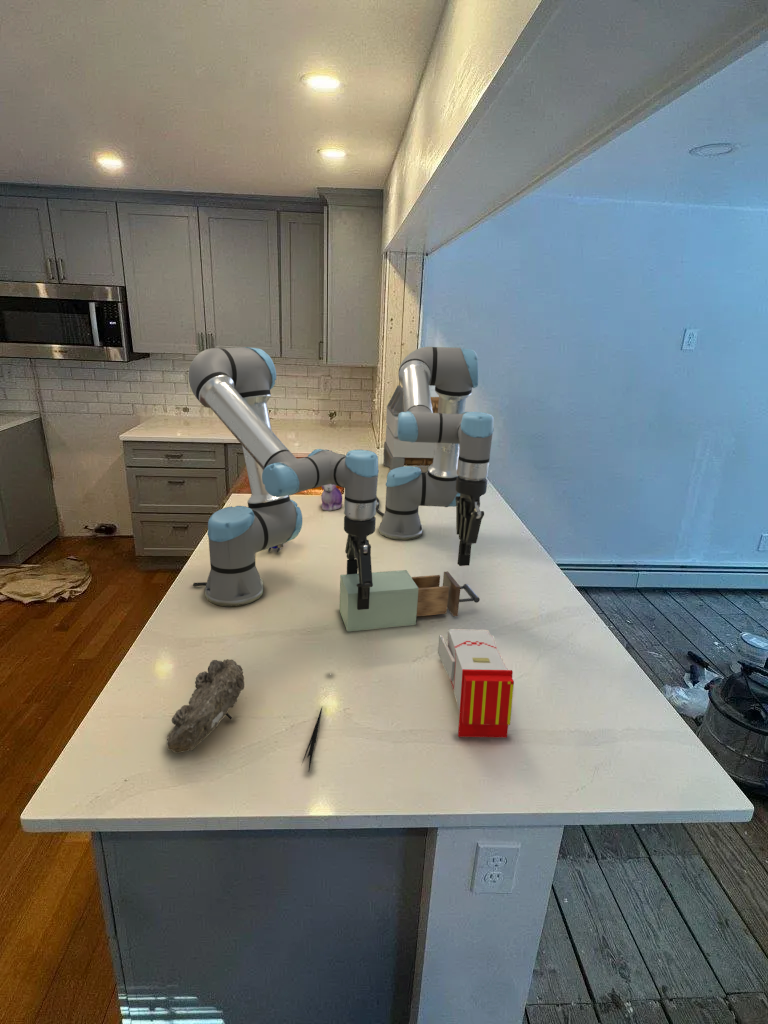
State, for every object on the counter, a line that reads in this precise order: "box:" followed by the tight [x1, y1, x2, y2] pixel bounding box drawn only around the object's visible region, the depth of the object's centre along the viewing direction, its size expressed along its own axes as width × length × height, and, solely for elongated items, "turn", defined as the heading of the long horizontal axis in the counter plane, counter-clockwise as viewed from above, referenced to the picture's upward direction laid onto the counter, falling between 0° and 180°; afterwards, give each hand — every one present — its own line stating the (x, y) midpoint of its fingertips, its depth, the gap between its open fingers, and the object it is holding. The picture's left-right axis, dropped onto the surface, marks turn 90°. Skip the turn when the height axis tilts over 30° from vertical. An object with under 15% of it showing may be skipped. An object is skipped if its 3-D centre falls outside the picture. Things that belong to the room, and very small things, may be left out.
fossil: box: [166, 658, 245, 754], centre depth 106 cm, size 22×10×15 cm
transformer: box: [383, 384, 439, 472], centre depth 268 cm, size 34×33×41 cm
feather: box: [301, 673, 332, 771], centre depth 108 cm, size 2×28×2 cm
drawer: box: [411, 571, 481, 617], centre depth 147 cm, size 22×9×8 cm, turn 105°
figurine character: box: [267, 544, 284, 553], centre depth 184 cm, size 7×8×15 cm
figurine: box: [320, 484, 343, 511], centre depth 220 cm, size 9×10×15 cm
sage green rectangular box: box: [339, 569, 418, 633], centre depth 144 cm, size 18×10×10 cm, turn 105°
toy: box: [437, 628, 515, 738], centre depth 117 cm, size 12×13×30 cm
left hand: (357, 595), depth 142 cm, fingers open, 13 cm apart
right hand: (463, 564), depth 146 cm, fingers closed
